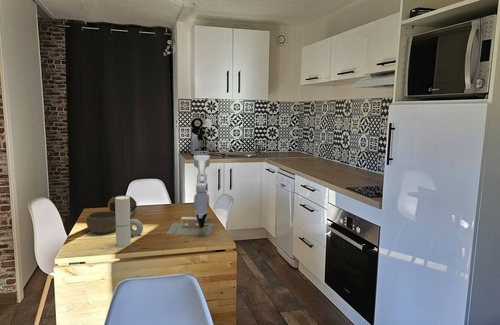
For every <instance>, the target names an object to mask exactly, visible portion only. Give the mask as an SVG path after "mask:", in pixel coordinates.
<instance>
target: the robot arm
mask: <svg viewBox="0 0 500 325" xmlns="http://www.w3.org/2000/svg"><path fill="white" fill-rule="evenodd" d="M193 165H194V167H195V168H197V170H198V173H197V175H196V184H195V192H196V193H195V194H194V195H193V196H194V197H193V207H194V208H195V211H194V213H195V217H196V218H197V220H196V222H198V223H199V227H200V228H203V227H204V223H205V222H207V221H208V208H210V194H208V192H209V185H208V183H209V182H208V175H207V174H206V169H207V168H210V165H211V155H209V154H194V155H193Z"/></svg>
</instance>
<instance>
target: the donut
mask: <svg viewBox="0 0 500 325" xmlns="http://www.w3.org/2000/svg"><path fill="white" fill-rule="evenodd" d="M133 226H135V227H136V229H133ZM130 231H131V237H137V236H140V235H141V234H142V233H143V231H144V226H143V223H142V222H141V221H140V220H139V219H137V218H130Z"/></svg>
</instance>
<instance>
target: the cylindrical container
mask: <svg viewBox="0 0 500 325" xmlns="http://www.w3.org/2000/svg"><path fill="white" fill-rule="evenodd" d="M118 196H119V197H116V196H115V197H116V198H115V215H116V229H115V241H116V242H115V244H116V245H115V246H116V247H119V248H125V247H129V246H131V243H132V239H131V238H132V236H131V231H130V220H131V216H130V197H131V196H130V197H128V196H129V195H126V196H121V195H118Z"/></svg>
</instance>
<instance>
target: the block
mask: <svg viewBox="0 0 500 325" xmlns="http://www.w3.org/2000/svg"><path fill="white" fill-rule="evenodd" d="M187 221H188V222H187V223H188V229H195V227H196V223H197V221H196V220H187Z"/></svg>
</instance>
